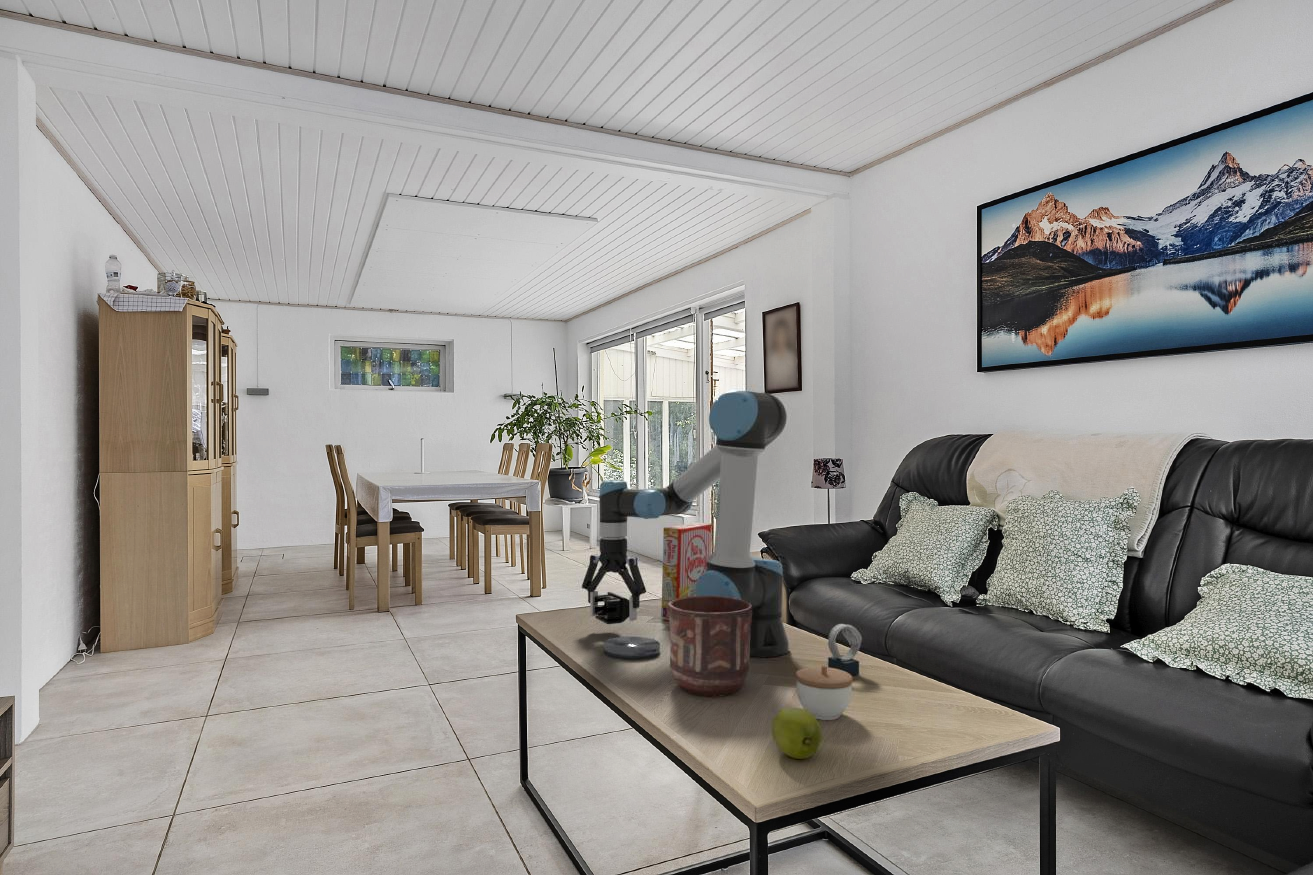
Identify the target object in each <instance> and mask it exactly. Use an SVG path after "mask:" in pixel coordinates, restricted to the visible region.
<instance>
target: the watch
mask: <svg viewBox="0 0 1313 875" xmlns="http://www.w3.org/2000/svg"><path fill="white" fill-rule="evenodd" d="M841 630H842V631H841ZM840 632H841V633H842V634H843V636H844V638H845V639H846V640H847V641H848V644H849V645H850V648H849V650H848V651H847V653H846V654H841V653H840V651H839V649H838V645H837V643H836V638H837V635H838V634H839V633H840ZM862 641H863V637H862V635H861V633H860V632H859V630H857V628H856V627H854V626H853V625H851V624H845V623H838V624H836V625H834V626H833V627H832V628H831V630H830V632H829V633H828V642H827V645H828V649H829V652H830V653H831V655H832V656H828V657H827V667H828V668H835V669H839V670H842V671H845V672H847V673H849V674H850V675H851V676H852V677H854V676H859V675H860V661H859V660H857V659H855V657H856V656H857V654H858V652H859V650H860V648H861V644H862Z"/></svg>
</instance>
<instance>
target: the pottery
mask: <svg viewBox="0 0 1313 875" xmlns="http://www.w3.org/2000/svg"><path fill="white" fill-rule="evenodd" d="M668 615H669V620H668V623H669V636H670V638H669V639H670V649H669V650H670V651H669V666H670V671H671V673H672V676H673V677H674V679H675V682H677V683H678V685H680V686H681V688H682V689H683V690H685V692H688V693H690V694H693V695H696V696H701V697H702V696H703V697H725V696H730V695H733V694H735V693H736V692H737V691H738V690H739V689H740V688H741V687H742V686H743V684H744V683H745V681H746V679H747V677H748V675H749V671H750V659H751V658H750V657H751V656H750V629H751V619H752V606H751V604H750V603H748V602H746V601H744V600H740V599H736V598H730V597H722V596H688V597H682V598H677V599H675V600H673V601H670V602H669V604H668Z"/></svg>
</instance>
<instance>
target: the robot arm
mask: <svg viewBox="0 0 1313 875" xmlns="http://www.w3.org/2000/svg"><path fill="white" fill-rule="evenodd" d="M787 418H788V416H787V411H786V407H785V406H784V404H783V402H782V401H781V400H780V399H779V398H778V397H776V396H775V395H773V394H771V393H767V392H756V391H749V390H743V389H741V390H729V391H726V392H723V393H722V394H721V395H720V396H718V397H717V398H716V399H715V401H713V403H712V405H711V407H710V410H709V414H708V423H709V428H710V430H712V433H713V434H714V435H715V437H716V442H715V443H716V444H715V445H714V446H713V447H712V448H710V449H709V450H708V451H707V452H706V453H705V454H703V455H702V456H701V457H700V458H699V459H698V460H696V462H694V463H693V464H692V465H690V466H689V467H688V469H686V470H685V471H684V472H682V473H681V475H679V476H678V477H676V478H675V480H673V481H672V482H670V483H669V485H667V486H666V487H655V488H643V489H642V488H640V489H639V488H637V489H636V488H635V489H634V488H629V487H628V483H627V481H624V480H604V481H601V483H600V484H599V485H600V486H599V495H598V498H599V537H601V538H600V539H599V553H600V554H599V555H598V553H596V554H591V555H590V556H589V564H588V566H587V570H586V572H585V575H584V579H583V580H582V581H583V582H582V583H581V589H584V590H586V591H587V597H588V598H587V599H588V600H587V602H588V604H590V605H589V607H590V608H589V610H590V611H589V612H590V613H589V614H590V615H589V616H590V617H595V616H596V615H597V614H595V607H597V606H599V602H595V596H597V595H599V591H598V590H597V589H598V586H599V585H600V583H601V582H602V580H603V578H604V577H605V575H606V574H607V573H611V572H612V573H614V574H616V573H617V574H618V575H619V576H621V578H622V580H623V582H624V584H625V585H626V588H628V591H629V592H630V593H631V595H630V596H628V597H629V599H628V600H629V617H628V621H629V622H633V621H636V620H638V608H640V596H641V595H643V594H645V593H647V589H646V586H645V583H644V580H643V577H642V574H641V571H640V568H639V566H638V557H636V556H634V557H628V555H627V553H628V538H626V537H627V536H628V518H629V517H630V518H637V519H639V518H640V519H644V520H645V519H646V520H649V519H651V520H652V519H658V518H660V517H661V516H670V515H671V516H672V515H673V516H674V515H675V516H676V515H677V516H678V515H680V514H684V513H687V512H688V511H690V509H691V508H692V506H693V502H694V500H696V499H697V498H699V497H700V495H702V494H703V493H704V492H706V491H708V489H709V488H710V487H712V486H713V485H715V484H716V483H718V481H719V484H718V496H717V508H716V510H717V511H716V521H715V532H714V543H713V544H714V546H713V552H712V553H711V555H710V556H709V557H708V558H707V564H706V572H704V573H703V574H702V575H701V576H700V577H699V578H698V580H697V582H696V586H695V594H696V596H722V597H730V598H736V599H740V600H744V601H746V602H748V603H750V604H751V606H752V619H751V629H750V657H757V658H771V657H779V656H783V655H786V654H787V653H788V652H789V640H788V636H787V633H786V629H785V626H784V622H783V615H782V614H783V588H784V586H783V584H784V583H783V581H784V574H783V565H782V562H780V561H778V560H776V559H768V558H762V557H761V558H759V557H751V542H752V530H753V518H754V509H755V508H754V507H755V506H754V505H755V497H756V496H755V494H756V486H757V485H756V483H757V473H758V472H757V471H758V470H757V469H758V461H759V460H758V457H759V456H760V455H761V454H762V453H763V452H764V451H766V447H767V446H768V445H770V444H772V443H773V442H774V441H775V440H776V439H777V438H778V437H779V436H780V435H781V434H782V432H783V431H784V429H785V427H786V424H787ZM599 562H600V564H601V565H600V567H599V568H598V564H599ZM627 566H628V567H629V569H628V567H627ZM597 568H598V569H597ZM596 570H597V573H596ZM629 571H630V572H629ZM630 573H631V574H630Z"/></svg>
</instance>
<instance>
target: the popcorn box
mask: <svg viewBox="0 0 1313 875" xmlns="http://www.w3.org/2000/svg"><path fill="white" fill-rule="evenodd" d="M662 531H663V535H662V536H663V539H662V541H663V542H662V545H663V546H662V581H661V584H662V585H661V609H660V610H661V612H660V613H661V614H660V619H661V620H666V621H669V615H668V604H669V602H670V601H673V600H675V599H677V598H682V597H688V596H696V594H695V586H696V582H697V580H698V578H699V577H700V576H701V575H702V574H703V573H704V572H706V564H707V558H708V557H709V556H710V555H711V554H712V553H711V552H712V523H707V522H706V523H705V522H692V523H686V524H681V525H674V526H666V527H663V530H662Z"/></svg>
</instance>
